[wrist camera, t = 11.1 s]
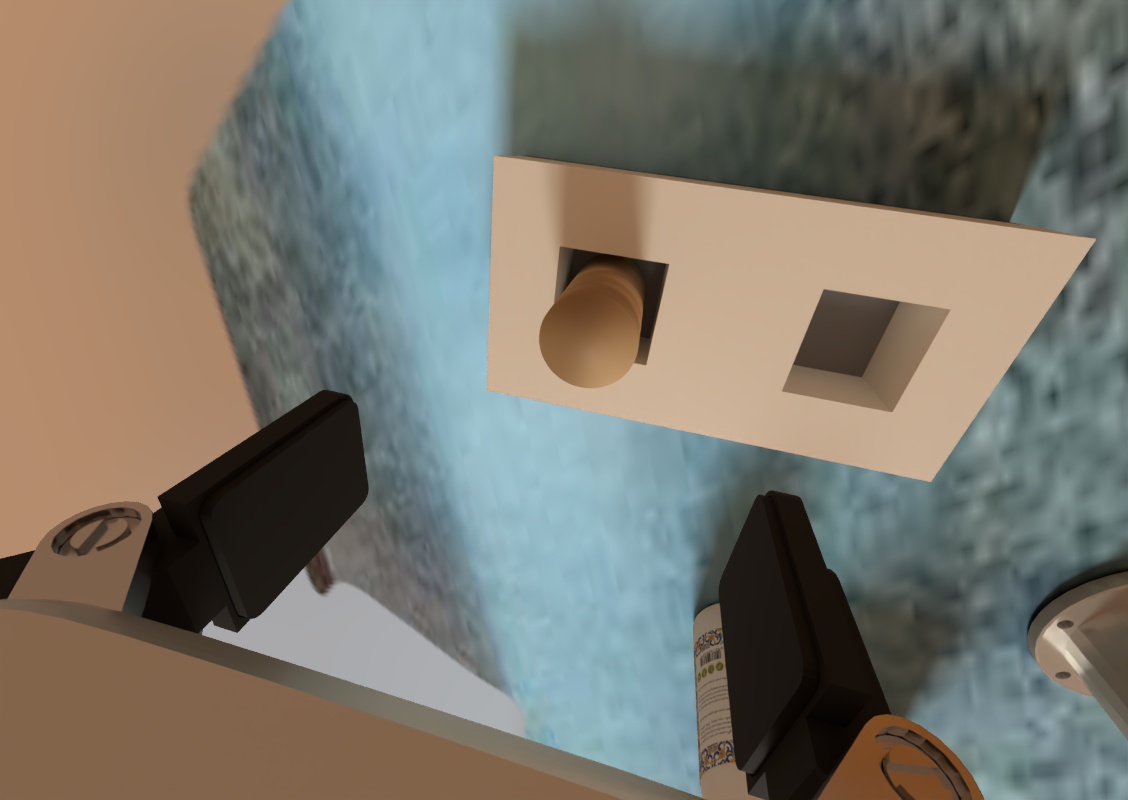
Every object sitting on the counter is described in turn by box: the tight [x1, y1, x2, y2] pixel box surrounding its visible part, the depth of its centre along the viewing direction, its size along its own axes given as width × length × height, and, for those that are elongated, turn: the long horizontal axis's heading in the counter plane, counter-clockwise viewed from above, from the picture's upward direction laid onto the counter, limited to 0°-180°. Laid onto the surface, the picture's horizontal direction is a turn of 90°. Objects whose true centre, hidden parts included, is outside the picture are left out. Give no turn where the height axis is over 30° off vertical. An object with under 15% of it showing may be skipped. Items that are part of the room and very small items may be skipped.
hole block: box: [487, 156, 1096, 482], centre depth 24 cm, size 12×24×5 cm, turn 84°
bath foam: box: [693, 603, 764, 800], centre depth 29 cm, size 7×7×20 cm
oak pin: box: [539, 254, 645, 388], centre depth 22 cm, size 4×4×9 cm
